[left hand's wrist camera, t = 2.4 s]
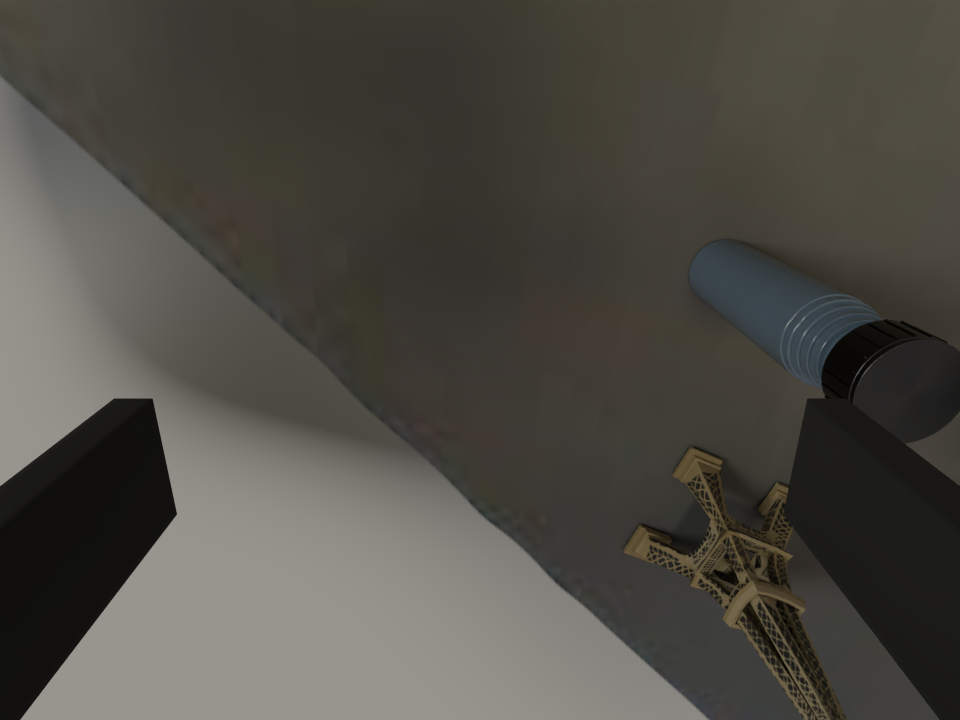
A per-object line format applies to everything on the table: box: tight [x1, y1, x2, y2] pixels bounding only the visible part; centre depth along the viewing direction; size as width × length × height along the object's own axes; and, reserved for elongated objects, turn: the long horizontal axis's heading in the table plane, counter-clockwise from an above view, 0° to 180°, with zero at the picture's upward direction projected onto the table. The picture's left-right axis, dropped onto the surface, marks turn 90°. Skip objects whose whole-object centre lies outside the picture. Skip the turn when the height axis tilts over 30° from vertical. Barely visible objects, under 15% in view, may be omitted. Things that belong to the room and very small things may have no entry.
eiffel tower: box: [624, 446, 847, 720], centre depth 38 cm, size 11×11×25 cm
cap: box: [821, 319, 960, 443], centre depth 25 cm, size 4×4×2 cm
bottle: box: [689, 239, 883, 389], centre depth 33 cm, size 5×5×20 cm
